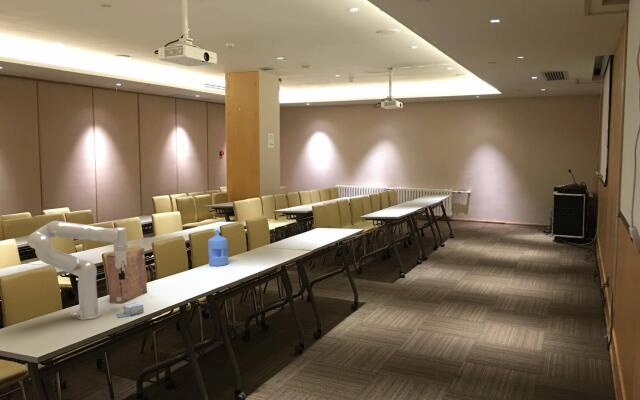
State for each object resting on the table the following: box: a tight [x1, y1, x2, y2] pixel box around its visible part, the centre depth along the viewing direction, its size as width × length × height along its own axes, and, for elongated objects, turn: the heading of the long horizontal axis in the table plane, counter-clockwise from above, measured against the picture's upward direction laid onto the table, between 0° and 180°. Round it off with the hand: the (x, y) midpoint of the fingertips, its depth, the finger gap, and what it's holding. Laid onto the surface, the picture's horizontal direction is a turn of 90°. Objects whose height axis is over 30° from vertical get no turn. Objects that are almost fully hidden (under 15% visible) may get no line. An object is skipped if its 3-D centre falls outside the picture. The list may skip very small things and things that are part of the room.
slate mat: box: [115, 312, 142, 319], centre depth 294 cm, size 12×8×1 cm, turn 121°
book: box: [106, 247, 148, 304], centre depth 329 cm, size 25×9×30 cm, turn 164°
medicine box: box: [122, 302, 145, 316], centre depth 296 cm, size 8×4×9 cm
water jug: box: [207, 229, 229, 267], centre depth 422 cm, size 16×16×28 cm
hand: (121, 279), depth 305 cm, fingers closed
